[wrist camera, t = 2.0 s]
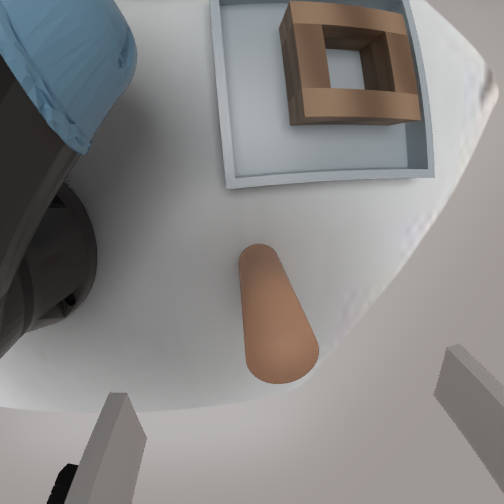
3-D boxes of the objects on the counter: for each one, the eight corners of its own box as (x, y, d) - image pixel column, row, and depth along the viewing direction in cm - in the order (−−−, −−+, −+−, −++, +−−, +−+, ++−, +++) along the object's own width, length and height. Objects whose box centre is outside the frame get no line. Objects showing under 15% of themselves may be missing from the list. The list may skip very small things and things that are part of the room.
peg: (240, 284, 28) (249, 387, 15) (236, 246, 27) (242, 329, 14) (279, 279, 28) (318, 378, 15) (277, 241, 27) (319, 319, 14)
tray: (227, 185, 26) (226, 189, 22) (211, 3, 21) (208, -18, 17) (410, 174, 26) (434, 177, 22) (388, 10, 21) (407, -5, 18)
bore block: (290, 125, 24) (304, 116, 19) (278, 28, 21) (289, 0, 16) (388, 125, 24) (420, 120, 19) (375, 34, 22) (402, 14, 17)
